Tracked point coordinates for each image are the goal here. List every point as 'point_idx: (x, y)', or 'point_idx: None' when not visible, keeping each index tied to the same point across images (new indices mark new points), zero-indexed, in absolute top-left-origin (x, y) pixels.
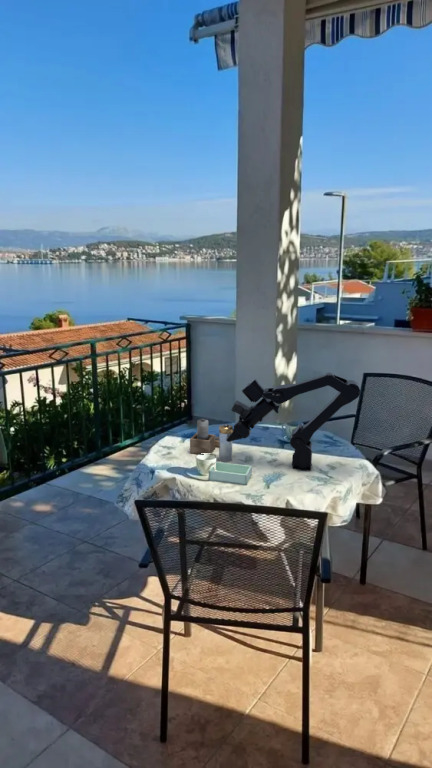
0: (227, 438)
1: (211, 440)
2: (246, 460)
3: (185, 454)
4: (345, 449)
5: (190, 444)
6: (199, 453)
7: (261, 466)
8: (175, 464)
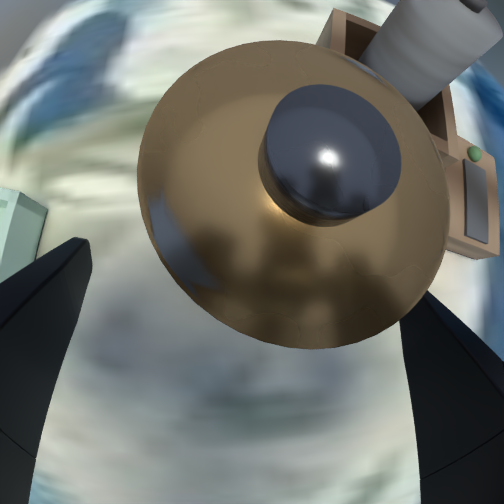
0: (55, 248)
1: None
2: (245, 404)
3: None
4: None
5: (322, 32)
6: None
7: (157, 482)
8: (158, 23)
